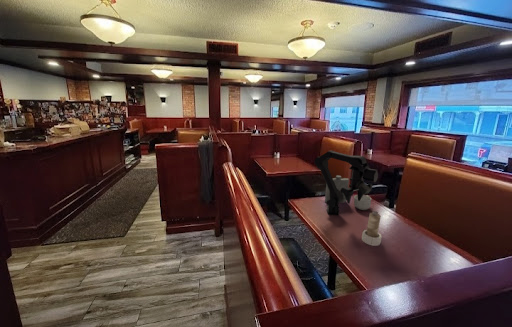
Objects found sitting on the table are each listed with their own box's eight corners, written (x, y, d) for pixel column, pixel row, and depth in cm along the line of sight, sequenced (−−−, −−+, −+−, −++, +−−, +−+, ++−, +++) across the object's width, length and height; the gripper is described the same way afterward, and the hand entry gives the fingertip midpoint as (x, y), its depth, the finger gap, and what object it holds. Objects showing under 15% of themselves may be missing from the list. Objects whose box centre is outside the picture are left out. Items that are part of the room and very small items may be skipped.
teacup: (362, 213, 147) (364, 201, 145) (349, 206, 157) (350, 195, 155) (376, 208, 154) (378, 198, 152) (362, 202, 163) (364, 192, 161)
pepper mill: (367, 241, 115) (371, 213, 111) (364, 236, 120) (368, 209, 116) (377, 242, 114) (382, 214, 110) (374, 237, 119) (378, 210, 115)
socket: (364, 244, 114) (365, 237, 113) (360, 235, 122) (361, 228, 121) (382, 246, 112) (383, 239, 111) (376, 237, 120) (378, 230, 119)
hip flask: (344, 200, 166) (348, 174, 161) (347, 202, 162) (350, 176, 157) (324, 201, 165) (326, 175, 160) (326, 203, 161) (328, 177, 156)
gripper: (357, 184, 120) (354, 210, 124) (380, 179, 128) (376, 204, 132) (341, 178, 129) (338, 203, 133) (363, 174, 138) (360, 197, 142)
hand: (353, 202), depth 135 cm, fingers open, 9 cm apart
